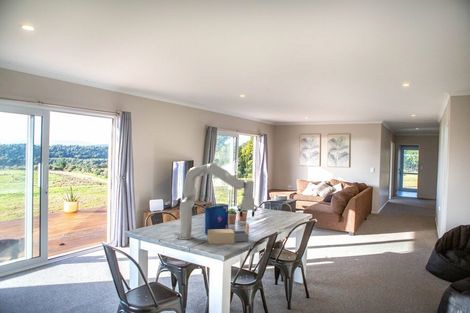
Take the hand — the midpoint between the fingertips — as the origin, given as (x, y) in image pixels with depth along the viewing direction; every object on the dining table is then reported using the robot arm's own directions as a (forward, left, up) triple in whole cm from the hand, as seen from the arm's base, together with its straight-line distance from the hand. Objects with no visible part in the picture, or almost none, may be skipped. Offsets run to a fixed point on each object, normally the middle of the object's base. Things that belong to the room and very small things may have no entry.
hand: (246, 216), depth 255 cm
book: (-21, +24, -19) cm, 37 cm away
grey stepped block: (-9, 0, -18) cm, 20 cm away
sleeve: (-21, 0, -19) cm, 28 cm away
